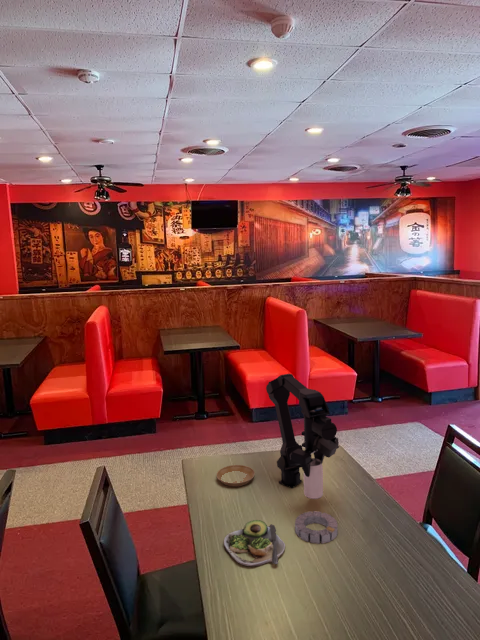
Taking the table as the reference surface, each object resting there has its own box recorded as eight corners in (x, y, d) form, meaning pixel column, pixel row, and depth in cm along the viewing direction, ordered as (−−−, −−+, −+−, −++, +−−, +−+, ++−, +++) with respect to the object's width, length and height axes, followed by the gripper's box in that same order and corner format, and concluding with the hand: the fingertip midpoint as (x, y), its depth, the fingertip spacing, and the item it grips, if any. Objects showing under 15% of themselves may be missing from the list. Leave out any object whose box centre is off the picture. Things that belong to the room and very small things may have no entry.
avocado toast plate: (301, 560, 133) (301, 545, 132) (245, 580, 125) (244, 565, 125) (269, 524, 150) (268, 511, 149) (218, 541, 143) (217, 527, 142)
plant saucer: (208, 481, 179) (208, 475, 179) (234, 467, 190) (233, 461, 190) (237, 493, 169) (237, 487, 169) (262, 477, 180) (262, 471, 180)
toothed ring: (287, 532, 145) (286, 523, 145) (310, 513, 155) (310, 506, 154) (322, 549, 137) (322, 540, 136) (345, 528, 146) (345, 520, 146)
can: (322, 489, 163) (322, 457, 161) (323, 499, 156) (323, 466, 154) (303, 489, 163) (303, 457, 161) (304, 499, 157) (303, 466, 155)
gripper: (317, 444, 144) (318, 491, 146) (348, 426, 157) (348, 469, 160) (288, 435, 151) (289, 480, 154) (320, 419, 165) (320, 460, 167)
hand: (313, 472), depth 158 cm, fingers closed on can, 6 cm apart
